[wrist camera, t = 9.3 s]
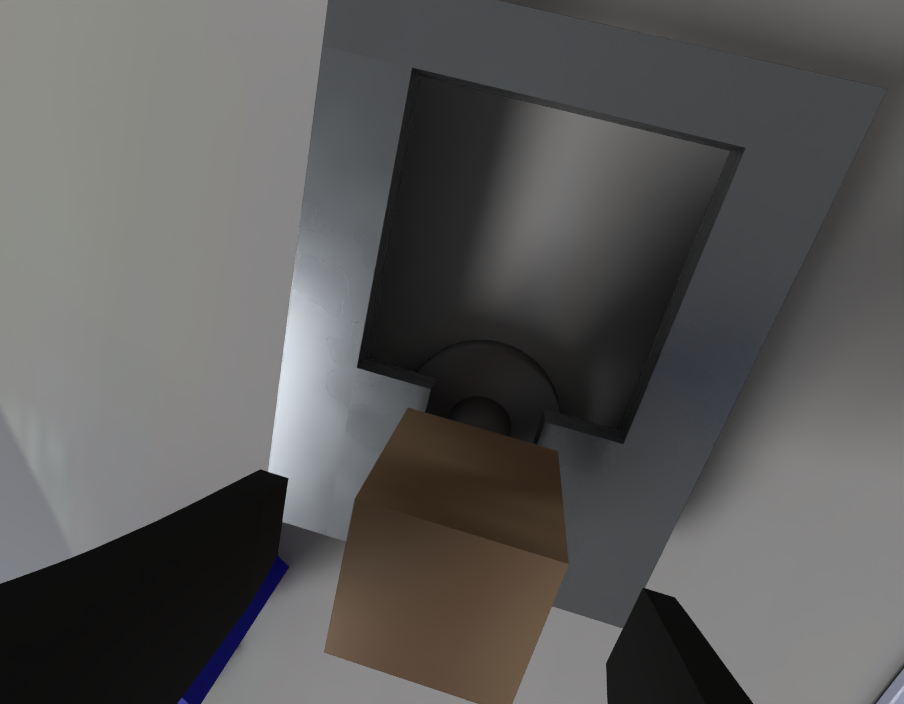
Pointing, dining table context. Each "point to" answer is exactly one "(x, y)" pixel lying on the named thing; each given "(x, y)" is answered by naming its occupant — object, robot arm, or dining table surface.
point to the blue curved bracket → (233, 637)
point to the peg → (457, 532)
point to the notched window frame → (689, 311)
